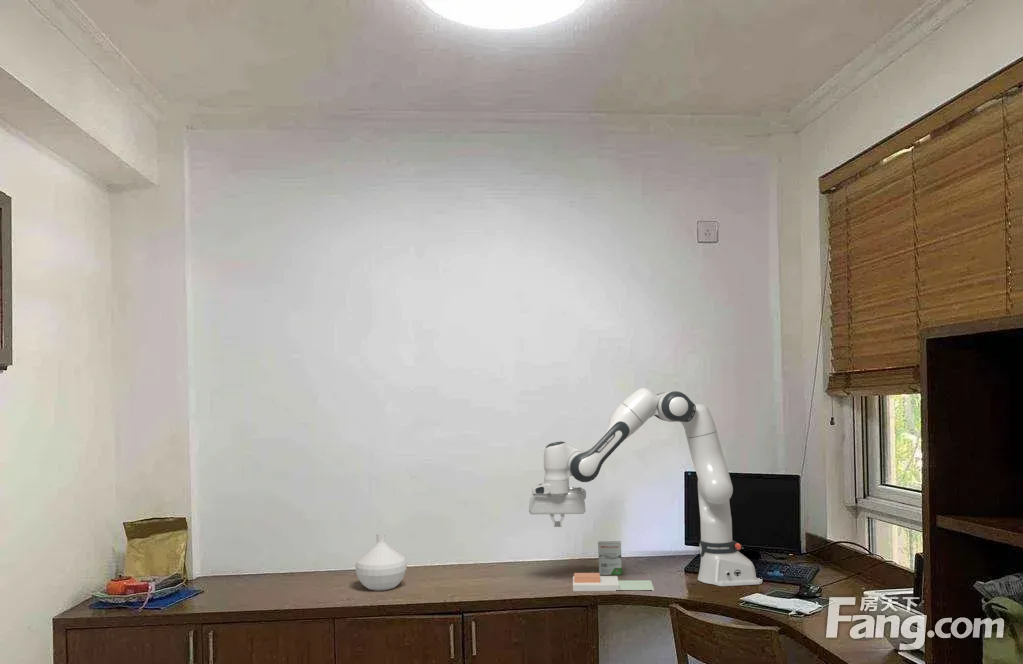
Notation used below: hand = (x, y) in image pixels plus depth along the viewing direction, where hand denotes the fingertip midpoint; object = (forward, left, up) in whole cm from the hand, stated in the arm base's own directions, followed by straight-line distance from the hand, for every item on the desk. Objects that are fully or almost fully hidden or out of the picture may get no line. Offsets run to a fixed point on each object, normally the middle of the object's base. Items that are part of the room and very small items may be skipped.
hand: (557, 526), depth 309 cm
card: (-10, 0, -19) cm, 22 cm away
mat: (-27, 0, -21) cm, 34 cm away
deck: (-13, 0, -21) cm, 25 cm away
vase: (+64, 0, -21) cm, 68 cm away
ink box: (-19, -19, -21) cm, 34 cm away
